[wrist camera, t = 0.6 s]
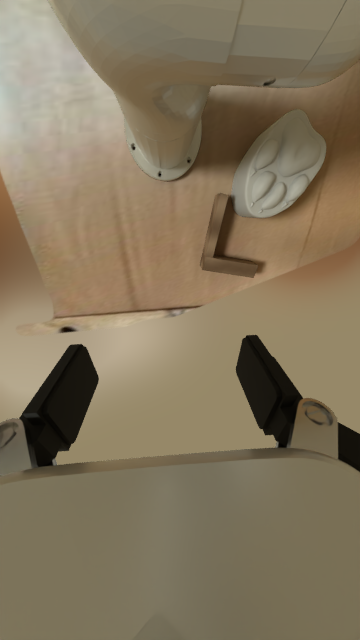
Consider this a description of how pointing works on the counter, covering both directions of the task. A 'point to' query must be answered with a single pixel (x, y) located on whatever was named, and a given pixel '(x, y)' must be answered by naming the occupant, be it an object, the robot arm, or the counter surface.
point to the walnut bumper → (208, 257)
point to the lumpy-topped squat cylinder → (278, 167)
